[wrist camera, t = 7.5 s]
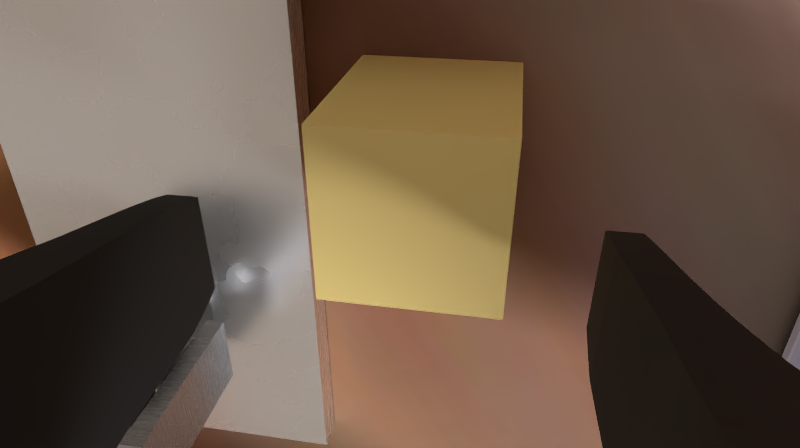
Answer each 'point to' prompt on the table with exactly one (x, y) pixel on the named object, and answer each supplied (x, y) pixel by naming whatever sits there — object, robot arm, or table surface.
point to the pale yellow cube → (415, 183)
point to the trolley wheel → (184, 184)
